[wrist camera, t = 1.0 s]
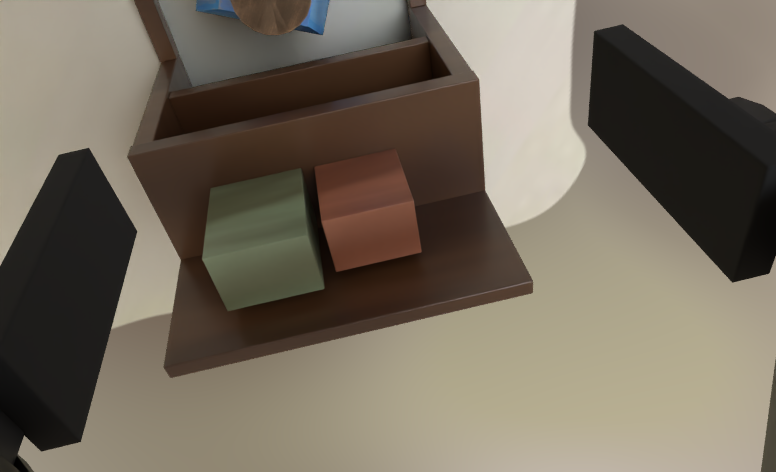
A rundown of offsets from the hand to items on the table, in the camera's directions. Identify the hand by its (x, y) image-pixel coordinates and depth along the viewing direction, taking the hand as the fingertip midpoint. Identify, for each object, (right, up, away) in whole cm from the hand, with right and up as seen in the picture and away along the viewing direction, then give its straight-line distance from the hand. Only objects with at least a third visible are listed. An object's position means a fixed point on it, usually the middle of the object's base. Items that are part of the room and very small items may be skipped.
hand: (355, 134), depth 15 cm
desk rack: (-5, +12, +19) cm, 23 cm away
